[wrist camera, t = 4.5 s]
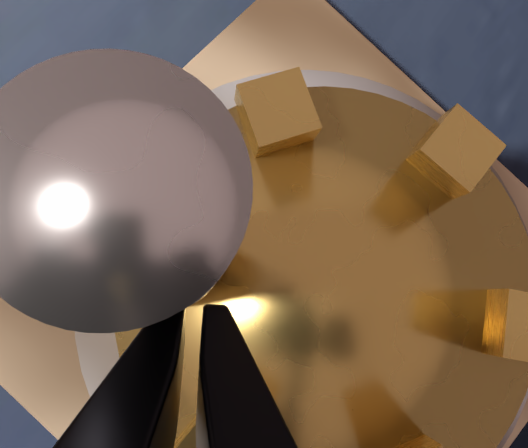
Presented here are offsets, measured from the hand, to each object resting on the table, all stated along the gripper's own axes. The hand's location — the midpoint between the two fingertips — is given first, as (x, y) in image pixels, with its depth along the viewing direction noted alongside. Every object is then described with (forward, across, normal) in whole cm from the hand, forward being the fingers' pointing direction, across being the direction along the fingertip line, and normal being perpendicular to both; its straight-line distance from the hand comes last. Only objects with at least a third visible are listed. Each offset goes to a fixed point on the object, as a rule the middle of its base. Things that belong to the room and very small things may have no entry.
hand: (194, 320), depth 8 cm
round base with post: (+5, -4, +4) cm, 7 cm away
